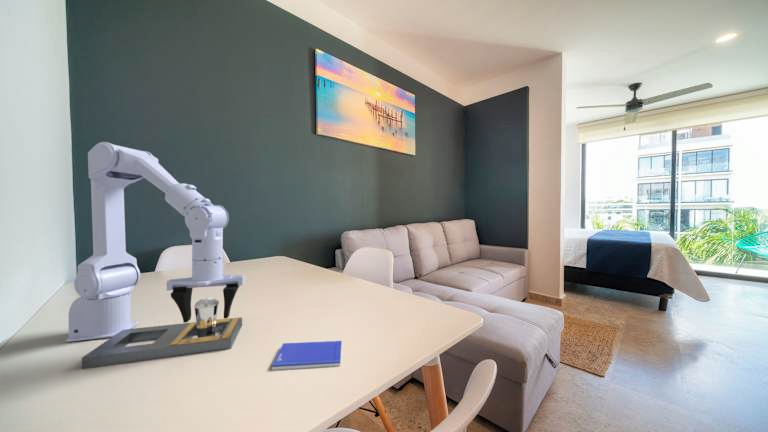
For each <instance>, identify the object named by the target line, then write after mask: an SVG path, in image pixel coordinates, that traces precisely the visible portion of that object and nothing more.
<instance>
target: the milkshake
mask: <svg viewBox="0 0 768 432" xmlns="http://www.w3.org/2000/svg"><path fill="white" fill-rule="evenodd" d="M219 305H220V301H219V300H218V299H216V298H214V297H208V298H204V299H203V298H202V299H200V300H198V301H196V303H195V304H194V312H195V313H194V314H195V322H196V324H197V334H196V335H197V338H199V337H208V336H216V333H217V332H216V321H217V319H218V314H219V313H218V312H219Z"/></svg>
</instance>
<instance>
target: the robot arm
mask: <svg viewBox="0 0 768 432" xmlns="http://www.w3.org/2000/svg"><path fill="white" fill-rule="evenodd" d="M87 167H88V168H87V170H88V179H90V190H91V191H90V194H91V195H90V196H91V222H92V223H91V224H92V252H93V254H92V255H91V256H90V257H87V259H85V260H83V261H81V262H80V263H79V264H78V265H77V274H76V276H75V279H74V282H73V287H74V290H75V292H76V294H78V295H79V296H80V297H76V299H74V300H73V302H72V303H71V304H70V307H69V309H68V338H67V339H65V343H70V342H78V341H88V340H89V341H90V340H96V339H97V340H98V339H107V338H112V337H113V336H114V335H116V334H117V333H119V332H120V331H122V330H125V329H133V328H134V327H135V326H136V325H138V324H139V323H140V321H139V320H134V321H131V313H132V312H131V309H132V307H131V302H132V298H131V296H132V295H131V294H132V293H131V292H132V291H135V287H136V286H137V285H138V284H139V283H140V281H141V271H140V268H139V267H138V262H137V258H136V257H135V256H133V255H131V254H129V253H128V252H127V250H126V249H127V247H126V246H127V245H126V219H125V192H124V191H125V190H124V189H125V188H126V187H128V186H129V185H130V184H135V183H136V182H138V181H141V180H142V179H145V180H147V181H148V182H149V183H151V184H152V185H154V186H155V187H156V188H157V189H159V190H160V191H161V192H163V193H164V194H165V195H164V200H165V202H166V203H168V205H170V206H171V207H172V208H173V209H175V210H176V211H177V212H178V213H179V214H181V216H183V217H184V222H185V225H186V227H187V228H188V230H189V237H190V238H191V242H192V243H191V247H192V248H191V277H182V278H171V279H169V280H166V291H172V292H171V293H170V298H172V300H173V301H174V303H175V304H176V306H177V307H178V309H179V311H180V313H181V314H180V315H181V317H182V321H183V323H189V321H190V320H191V319H192V293H193V289H195V288H208V287H209V288H210V287H211V288H212V287H222V286H223V287H224V288H222V291H223V303H224V304H223V305H224V307H223V308H224V309H223V319H227V318H230V314H231V308H232V305H233V301H234V299H235V297H236V294H237V292H238V291H239V287H240V286H244V284H245V275H244V274H239V275H238V274H236V275H235V274H230V275H228V274H223V269H224V267H223V263H224V262H223V261H224V260H223V259H224V255H223V254H224V253H223V252H224V249H223V247H224V245H223V244H224V243H223V242H224V241H223V240H224V236H223V235H224V229H225V228H226V227H227V226H228V223H229V221H230V220H229V219H230V215H229V212H228V211H227V210H226V208H225V207H224V206H223V205H219V204H213V203H212V202H211V200H210V199H209V198H206V197H204V196H203V195H202V194H201V193H200V192H198V191H197V187H196V186H195V185H194V184H188V183H180V182H179V181H177V180H176V179H175V178H174V176H172V175H171V173H169V172H168V171H167V170H166V169H165V168H164V167H163V166H162V165H161V164H160V163H159V158H157V157H156V156H154V155H153V154H152V153H151V152H149V151H147V150H140V149H135V148H130V147H127V146H121V145H117V144H113V143H111V142H108V141H101V142H98V143H97V144H95V145H94V146H93V147H92V148H91V149H90V150H89V151H88V152H87Z"/></svg>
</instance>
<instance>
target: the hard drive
mask: <svg viewBox="0 0 768 432" xmlns="http://www.w3.org/2000/svg"><path fill="white" fill-rule="evenodd" d="M342 342H343V341H342V340H335V341H334V340H333V341H332V340H331V341H310V342H309V341H306V342H287V343H286V342H285V343H284V342H283V343H282V345H281V346H280V349H279V350H278V352H277V355H276V356H275V359H274V361H273V363H272V366H271V371H278V370H280V371H281V370H293V369H308V368H309V369H310V368H312V369H313V368H323V367H324V368H325V367H340V366H341V363H342V362H341V361H342V360H341V358H342V345H343V343H342Z"/></svg>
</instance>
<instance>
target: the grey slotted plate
mask: <svg viewBox="0 0 768 432" xmlns="http://www.w3.org/2000/svg"><path fill="white" fill-rule="evenodd" d="M242 326H243V317H232V318H231V317H228V318H217V321H216V333H220V332H222V333H221V334H215V336H208V337H199V338H198V337H194V336H196V335H197V324H196V321H194V322H185V323H184V322H183V323H175V324H165V325H158V326H155V325H154V326H147V327H144V326H143V327H138V328H137V327H136V328H131V329H125V330H122V331H120V332H119V333H117V334H116V335H114V336H113V337H109V339H107V340H106V341H104V342H102V343H101V344H100V345H98V346H97V347H95V348H94V349H92V350H91V351H90V352H88V353H86V354H85V355H84V356H82V357H81V369H82V370H84V369H90V368H97V367H105V366H112V365H113V366H114V365H117V364H118V365H120V364H126V363H133V362H141V361H149V360H156V359H164V358H169V357H179V356H186V355H191V354H192V355H193V354H199V353H208V352H212V351H213V352H214V351H221V350H230V349H232V347H233V345H234V344H235V341H236V339H237V337H238V334H239V332H240V330H241V329H242ZM151 340H152V341H153V340H155V341H154V342H152V343H147V344H137V345H130V346H128V344H130V343H132V342H133V343H135V342H140V341H141V342H142V341H151Z"/></svg>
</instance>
